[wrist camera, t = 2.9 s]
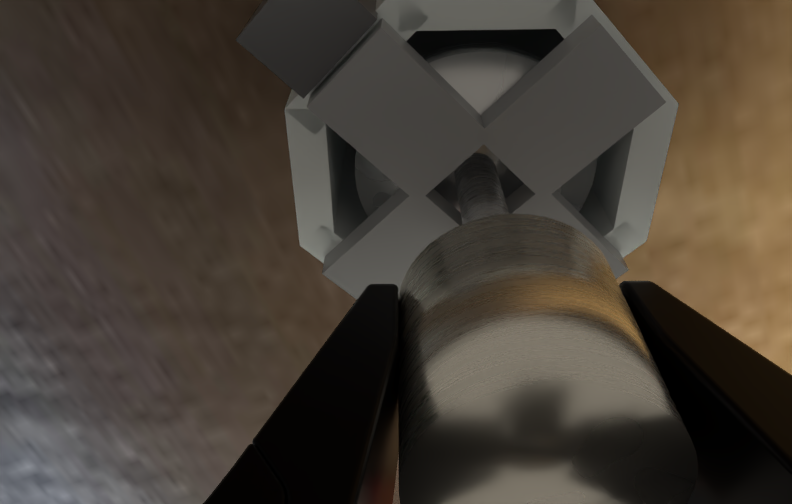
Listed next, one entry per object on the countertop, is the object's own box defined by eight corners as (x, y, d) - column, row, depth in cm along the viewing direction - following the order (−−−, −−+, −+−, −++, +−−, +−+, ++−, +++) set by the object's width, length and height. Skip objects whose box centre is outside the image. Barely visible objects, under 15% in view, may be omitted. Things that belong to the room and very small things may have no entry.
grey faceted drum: (216, 51, 16) (139, 156, 11) (423, -202, 14) (440, -207, 9) (448, 247, 20) (467, 395, 15) (654, 77, 17) (764, 191, 12)
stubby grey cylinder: (307, 160, 13) (226, 493, 7) (481, -15, 11) (596, 215, 5) (464, 289, 15) (518, 649, 9) (636, 156, 13) (867, 486, 7)
